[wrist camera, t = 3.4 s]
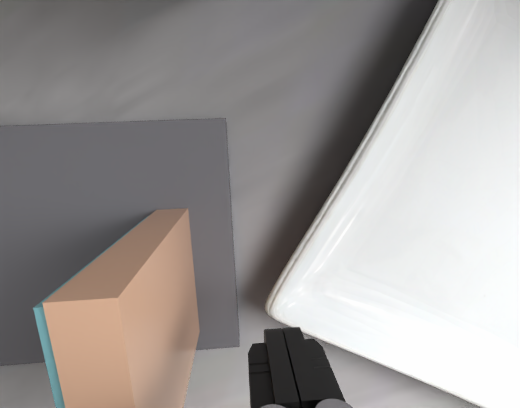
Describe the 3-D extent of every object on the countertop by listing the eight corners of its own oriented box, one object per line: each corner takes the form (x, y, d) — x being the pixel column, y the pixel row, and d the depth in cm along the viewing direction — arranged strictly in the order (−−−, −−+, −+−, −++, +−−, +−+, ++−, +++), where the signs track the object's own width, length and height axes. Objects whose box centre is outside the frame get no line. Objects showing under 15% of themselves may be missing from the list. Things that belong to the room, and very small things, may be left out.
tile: (188, 208, 19) (117, 297, 8) (199, 331, 21) (155, 537, 10) (148, 210, 19) (22, 304, 8) (164, 333, 20) (80, 545, 10)
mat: (225, 118, 18) (225, 118, 18) (239, 341, 22) (239, 346, 21) (-153, 132, 17) (-164, 131, 16) (-75, 366, 20) (-82, 372, 20)
